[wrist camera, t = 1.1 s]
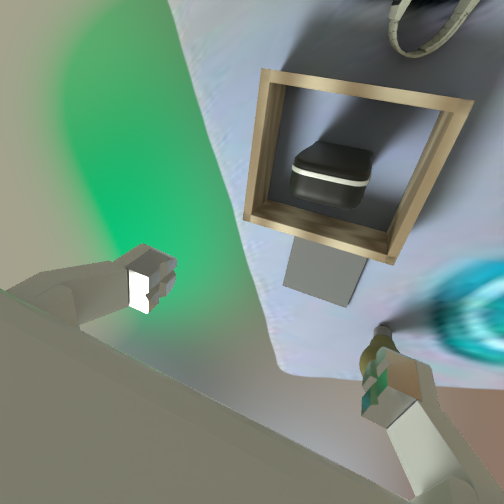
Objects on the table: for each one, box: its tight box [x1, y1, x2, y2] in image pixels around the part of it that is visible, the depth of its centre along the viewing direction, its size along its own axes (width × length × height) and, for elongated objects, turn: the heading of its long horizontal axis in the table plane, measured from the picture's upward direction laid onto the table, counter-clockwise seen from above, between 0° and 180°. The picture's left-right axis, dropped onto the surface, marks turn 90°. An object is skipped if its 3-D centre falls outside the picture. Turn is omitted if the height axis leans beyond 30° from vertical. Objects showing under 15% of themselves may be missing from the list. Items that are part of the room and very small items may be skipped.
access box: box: [243, 68, 475, 265], centre depth 31 cm, size 18×16×6 cm
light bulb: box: [359, 326, 400, 376], centre depth 38 cm, size 6×6×10 cm
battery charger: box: [290, 141, 372, 210], centre depth 29 cm, size 7×4×11 cm, turn 84°
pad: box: [283, 236, 367, 308], centre depth 41 cm, size 10×10×1 cm
